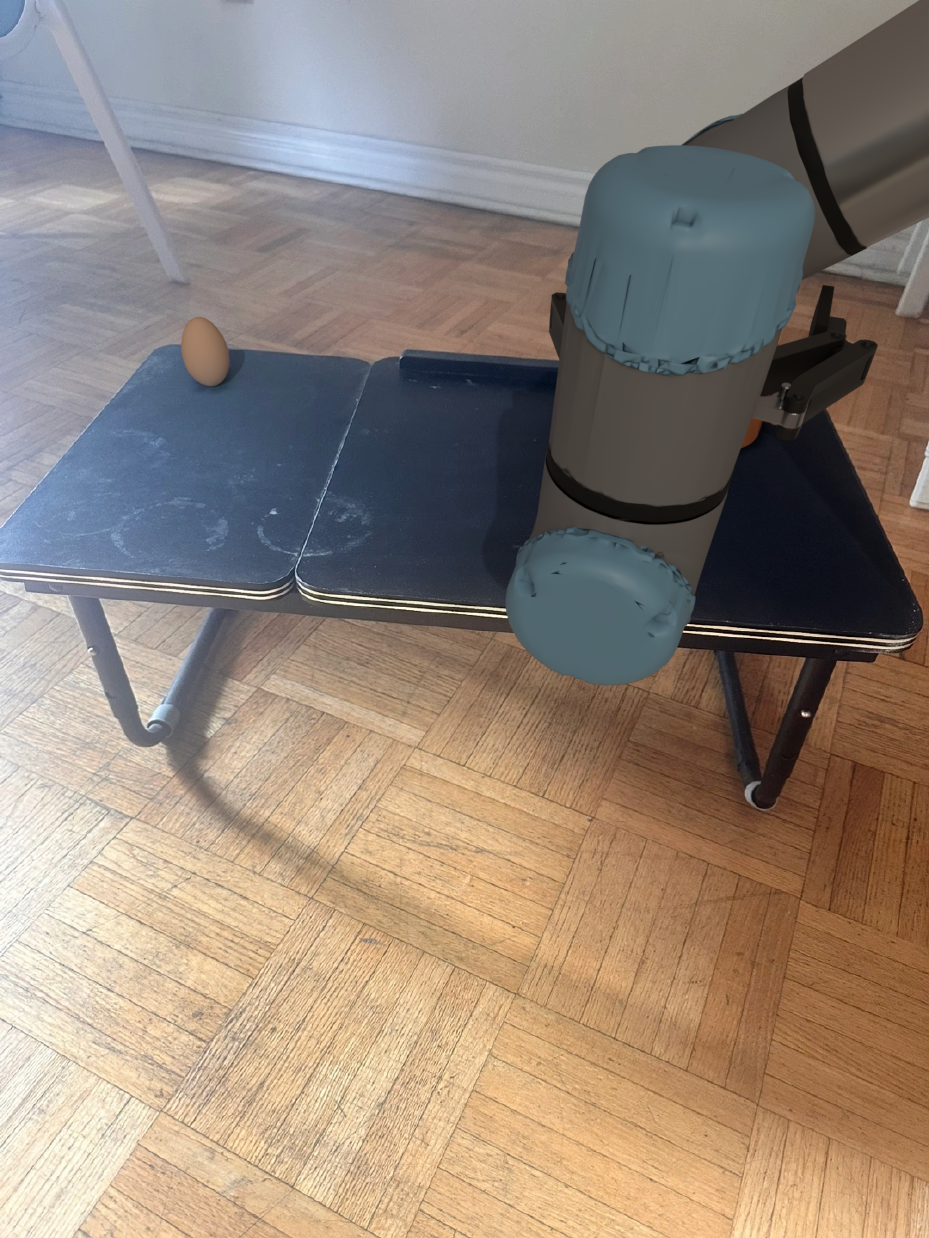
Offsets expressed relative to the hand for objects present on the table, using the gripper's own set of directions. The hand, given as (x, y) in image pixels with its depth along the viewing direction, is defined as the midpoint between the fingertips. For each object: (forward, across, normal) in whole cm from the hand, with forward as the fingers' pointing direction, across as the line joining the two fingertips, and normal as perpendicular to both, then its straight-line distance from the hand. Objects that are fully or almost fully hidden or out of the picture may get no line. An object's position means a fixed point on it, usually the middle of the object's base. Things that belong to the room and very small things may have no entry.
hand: (721, 290), depth 57 cm
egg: (+13, -57, -25) cm, 64 cm away
